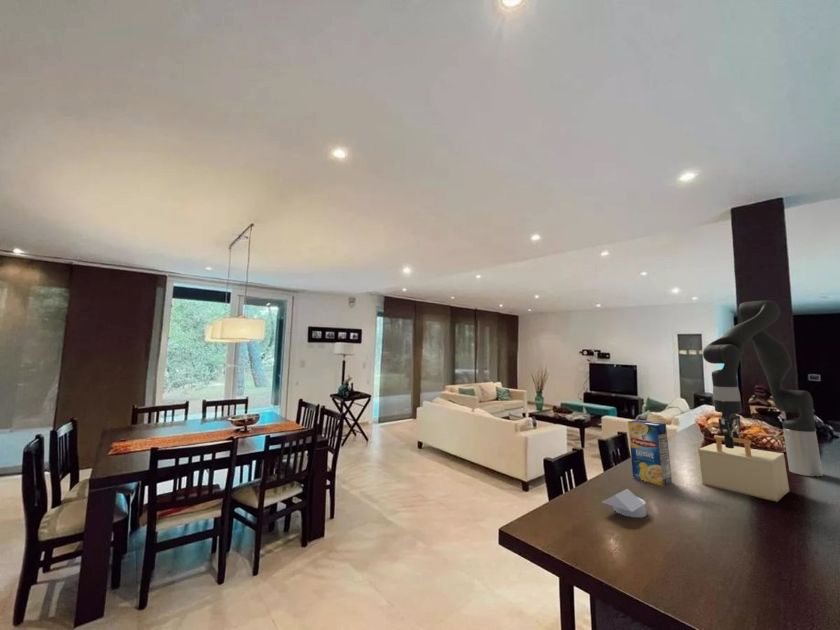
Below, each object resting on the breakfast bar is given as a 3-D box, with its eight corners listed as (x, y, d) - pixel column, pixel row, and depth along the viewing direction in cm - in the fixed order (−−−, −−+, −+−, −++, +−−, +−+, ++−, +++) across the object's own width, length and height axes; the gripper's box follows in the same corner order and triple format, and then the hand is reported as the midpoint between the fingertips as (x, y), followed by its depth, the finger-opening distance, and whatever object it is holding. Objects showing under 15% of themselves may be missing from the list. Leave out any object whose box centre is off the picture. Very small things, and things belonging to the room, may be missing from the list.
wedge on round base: (633, 524, 101) (651, 512, 108) (630, 499, 101) (649, 489, 109) (601, 513, 108) (621, 503, 115) (599, 490, 109) (619, 481, 116)
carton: (718, 476, 140) (714, 445, 141) (789, 491, 123) (784, 456, 125) (702, 484, 131) (698, 451, 133) (776, 501, 114) (771, 463, 116)
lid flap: (714, 445, 141) (712, 428, 142) (784, 455, 125) (781, 437, 126) (698, 451, 133) (696, 433, 133) (771, 463, 116) (768, 443, 117)
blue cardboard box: (663, 486, 130) (657, 425, 133) (632, 478, 139) (627, 421, 142) (672, 482, 133) (666, 423, 136) (642, 475, 143) (637, 419, 146)
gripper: (721, 396, 135) (726, 442, 133) (706, 399, 127) (712, 447, 125) (746, 398, 129) (753, 445, 126) (733, 401, 121) (740, 451, 118)
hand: (732, 446), depth 126 cm, fingers open, 6 cm apart
